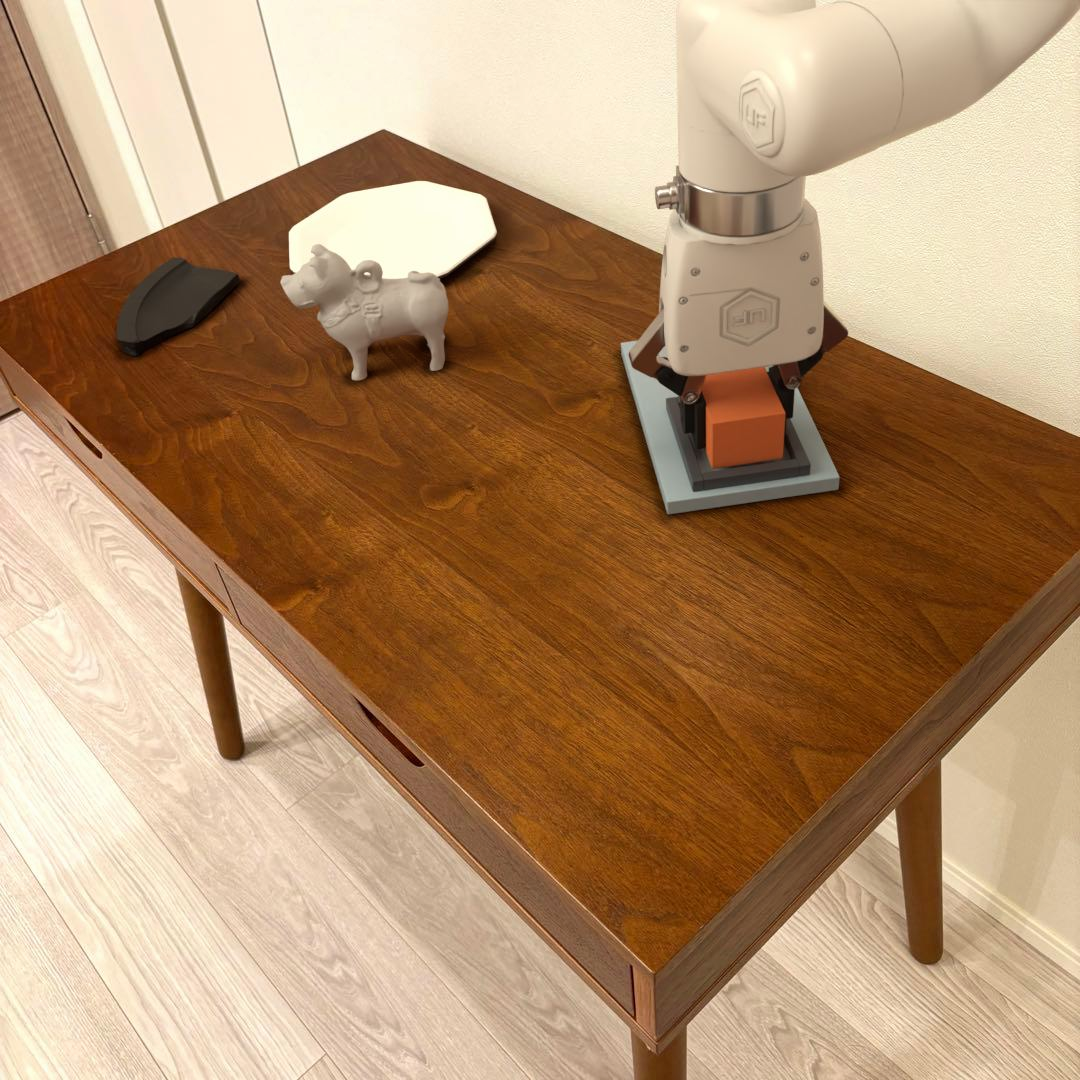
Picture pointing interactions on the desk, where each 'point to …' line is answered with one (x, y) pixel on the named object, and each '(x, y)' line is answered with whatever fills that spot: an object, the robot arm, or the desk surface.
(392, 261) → the plate
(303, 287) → the dog figurine
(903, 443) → the desk surface
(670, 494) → the gray fixture board
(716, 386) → the orange rectangular block
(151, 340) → the fan shaped piece
